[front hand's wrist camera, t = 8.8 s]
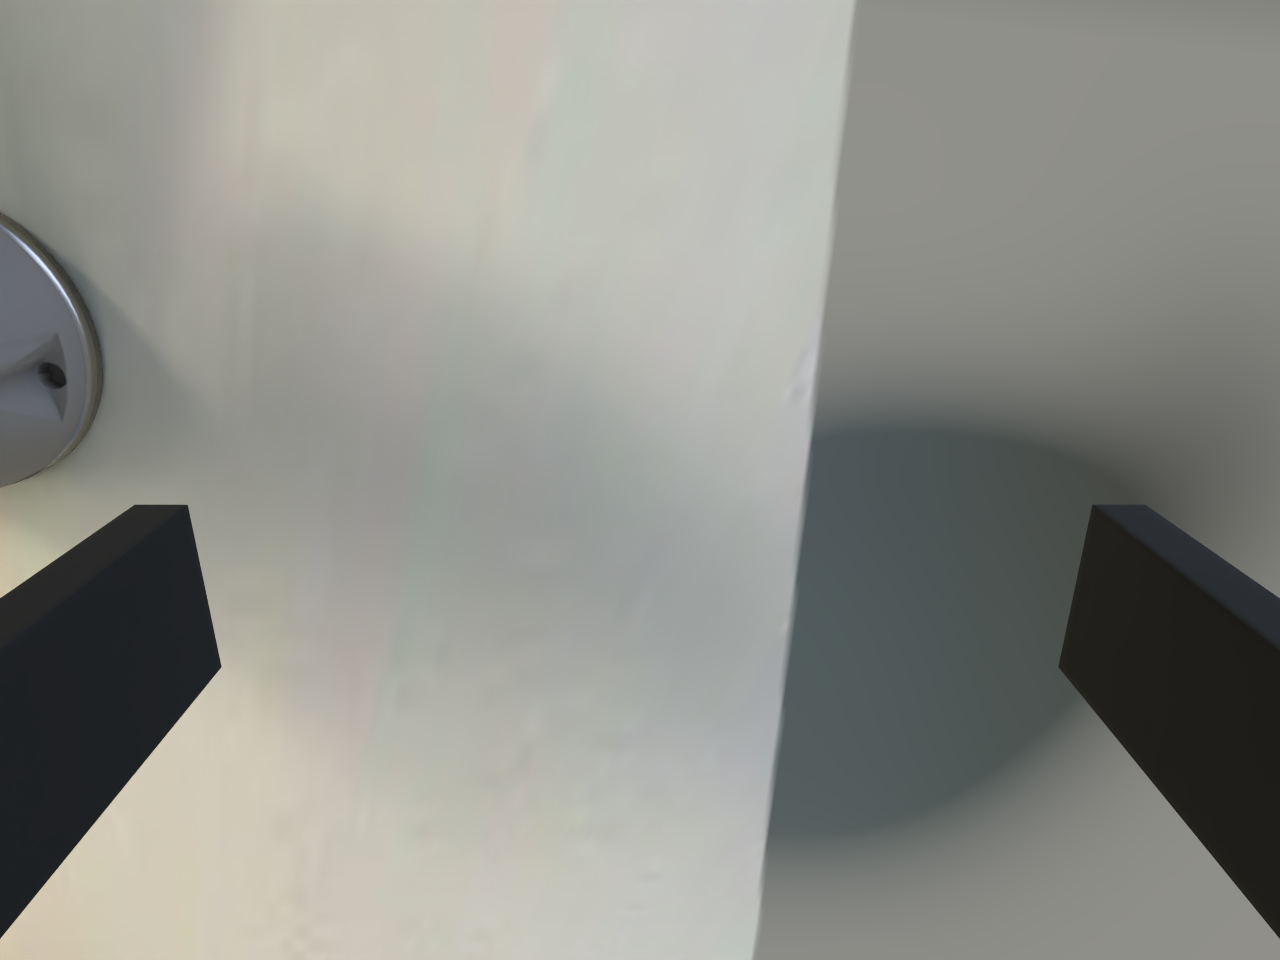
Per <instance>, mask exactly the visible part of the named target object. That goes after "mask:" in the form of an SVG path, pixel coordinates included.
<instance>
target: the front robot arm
mask: <svg viewBox="0 0 1280 960" xmlns="http://www.w3.org/2000/svg"><path fill="white" fill-rule="evenodd" d="M101 389H102V358H101V351H100V346H99V341H98V337H97V334H96V330H95V327H94V324H93V321H92V319H91V316H90V314H89V311H88V309H87V307H86V305H85V303H84V301H83V299H82V297H81V295H80V294H79V292H78V290H77V289H76V287H75V285H74V284H73V282H72V281H71V279H70V278H69V276H68V275H67V274H66V272H65V271H64V269H63V268H62V267H61V266H60V265H59V263H58V262H57V261H56V260H55V259H54V257H53V256H52V255H51V254H50V253H49V252H48V251H47V250H46V249H45V248H44V247H43V246H42V245H41V244H40V243H39V242H38V241H37V240H36V239H35V238H33V237H32V236H31V235H30V234H29V233H28V232H26V231H25V230H24V229H23V228H21V227H20V226H19V225H17V224H16V223H14V222H13V221H12V220H10V219H9V218H7V217H5V216H4V215H2V214H1V213H0V487H3V486H6V485H9V484H13V483H16V482H19V481H22V480H24V479H27V478H29V477H31V476H33V475H35V474H37V473H39V472H40V471H42V470H44V469H46V468H48V467H50V466H52V465H54V464H55V463H57V462H58V461H60V460H61V459H63V458H64V457H65V456H66V455H67V454H69V453H70V452H71V451H72V450H73V449H74V448H75V447H76V446H77V445H78V443H79V442H80V441H81V440H82V439H83V437H84V436H85V434H86V433H87V431H88V429H89V427H90V426H91V424H92V422H93V420H94V417H95V414H96V411H97V409H98V405H99V401H100V397H101ZM220 668H221V662H220V658H219V653H218V648H217V643H216V639H215V634H214V629H213V624H212V619H211V615H210V610H209V605H208V600H207V595H206V591H205V586H204V581H203V576H202V572H201V567H200V562H199V557H198V552H197V548H196V543H195V538H194V533H193V528H192V524H191V519H190V514H189V509H188V505H134V506H132V507H131V508H129V509H128V510H127V511H125V512H124V513H122V514H121V515H119V516H118V517H117V518H115V519H114V520H112V521H111V522H109V523H108V524H107V525H105V526H104V527H102V528H101V529H99V530H98V531H96V532H95V533H94V534H92V535H91V536H89V537H88V538H86V539H85V540H84V541H82V542H81V543H79V544H78V545H76V546H75V547H73V548H72V549H71V550H69V551H68V552H66V553H65V554H63V555H62V556H61V557H59V558H58V559H56V560H55V561H53V562H52V563H50V564H49V565H48V566H46V567H45V568H43V569H42V570H40V571H39V572H38V573H36V574H35V575H33V576H32V577H30V578H29V579H27V580H26V581H25V582H23V583H22V584H20V585H19V586H17V587H16V588H15V589H13V590H12V591H10V592H9V593H7V594H6V595H5V596H3V597H2V598H0V938H1V937H2V936H3V935H4V933H5V932H6V931H7V930H8V928H9V927H10V926H11V925H12V924H13V922H14V921H15V920H16V919H17V917H18V916H19V915H20V914H21V912H22V911H23V910H24V909H25V908H26V906H27V905H28V904H29V903H30V901H31V900H32V899H33V898H34V897H35V895H36V894H37V893H38V892H39V890H40V889H41V888H42V887H43V885H44V884H45V883H46V882H47V881H48V879H49V878H50V877H51V876H52V874H53V873H54V872H55V871H56V869H57V868H58V867H59V866H60V865H61V863H62V862H63V861H64V860H65V858H66V857H67V856H68V855H69V854H70V852H71V851H72V850H73V849H74V847H75V846H76V845H77V844H78V842H79V841H80V840H81V839H82V838H83V836H84V835H85V834H86V833H87V831H88V830H89V829H90V828H91V827H92V825H93V824H94V823H95V822H96V820H97V819H98V818H99V817H100V815H101V814H102V813H103V812H104V811H105V809H106V808H107V807H108V806H109V804H110V803H111V802H112V801H113V800H114V798H115V797H116V796H117V795H118V793H119V792H120V791H121V790H122V788H123V787H124V786H125V785H126V784H127V782H128V781H129V780H130V779H131V777H132V776H133V775H134V774H135V773H136V771H137V770H138V769H139V768H140V766H141V765H142V764H143V763H144V761H145V760H146V759H147V758H148V757H149V755H150V754H151V753H152V752H153V750H154V749H155V748H156V747H157V745H158V744H159V743H160V742H161V741H162V739H163V738H164V737H165V736H166V734H167V733H168V732H169V731H170V730H171V728H172V727H173V726H174V725H175V723H176V722H177V721H178V720H179V718H180V717H181V716H182V715H183V714H184V712H185V711H186V710H187V709H188V707H189V706H190V705H191V704H192V703H193V701H194V700H195V699H196V698H197V696H198V695H199V694H200V693H201V691H202V690H203V689H204V688H205V687H206V685H207V684H208V683H209V682H210V680H211V679H212V678H213V677H214V676H215V674H216V673H217V672H218V671H219V669H220ZM1059 668H1060V669H1061V671H1062V672H1063V673H1064V674H1065V676H1066V677H1067V678H1068V679H1069V680H1070V682H1071V683H1072V684H1073V685H1074V687H1075V688H1076V689H1077V690H1078V691H1079V693H1080V694H1081V695H1082V696H1083V698H1084V699H1085V700H1086V701H1087V703H1088V704H1089V705H1090V706H1091V707H1092V709H1093V710H1094V711H1095V712H1096V714H1097V715H1098V716H1099V717H1100V718H1101V720H1102V721H1103V722H1104V723H1105V725H1106V726H1107V727H1108V728H1109V730H1110V731H1111V732H1112V733H1113V734H1114V736H1115V737H1116V738H1117V739H1118V741H1119V742H1120V743H1121V744H1122V745H1123V747H1124V748H1125V749H1126V750H1127V752H1128V753H1129V754H1130V755H1131V757H1132V758H1133V759H1134V760H1135V761H1136V763H1137V764H1138V765H1139V766H1140V768H1141V769H1142V770H1143V771H1144V772H1145V774H1146V775H1147V776H1148V777H1149V779H1150V780H1151V781H1152V782H1153V784H1154V785H1155V786H1156V787H1157V788H1158V790H1159V791H1160V792H1161V793H1162V795H1163V796H1164V797H1165V798H1166V800H1167V801H1168V802H1169V803H1170V804H1171V806H1172V807H1173V808H1174V809H1175V811H1176V812H1177V813H1178V814H1179V815H1180V817H1181V818H1182V819H1183V820H1184V822H1185V823H1186V824H1187V825H1188V827H1189V828H1190V829H1191V830H1192V831H1193V833H1194V834H1195V835H1196V836H1197V837H1198V839H1199V840H1200V841H1201V842H1202V844H1203V845H1204V846H1205V847H1206V849H1207V850H1208V851H1209V852H1210V853H1211V855H1212V856H1213V857H1214V858H1215V860H1216V861H1217V862H1218V863H1219V865H1220V866H1221V867H1222V868H1223V869H1224V871H1225V872H1226V873H1227V874H1228V876H1229V877H1230V878H1231V879H1232V881H1233V882H1234V883H1235V884H1236V885H1237V887H1238V888H1239V889H1240V890H1241V892H1242V893H1243V894H1244V895H1245V897H1246V898H1247V899H1248V900H1249V901H1250V903H1251V904H1252V905H1253V906H1254V908H1255V909H1256V910H1257V911H1258V912H1259V914H1260V915H1261V916H1262V917H1263V919H1264V920H1265V921H1266V922H1267V924H1268V925H1269V926H1270V927H1271V928H1272V930H1273V931H1274V932H1275V933H1276V935H1277V936H1278V937H1279V938H1280V598H1278V597H1277V596H1275V595H1274V594H1273V593H1271V592H1270V591H1268V590H1267V589H1265V588H1264V587H1263V586H1261V585H1260V584H1258V583H1257V582H1255V581H1254V580H1253V579H1251V578H1250V577H1248V576H1247V575H1245V574H1244V573H1242V572H1241V571H1240V570H1238V569H1237V568H1235V567H1234V566H1232V565H1231V564H1229V563H1228V562H1227V561H1225V560H1224V559H1222V558H1221V557H1219V556H1218V555H1217V554H1215V553H1214V552H1212V551H1211V550H1209V549H1208V548H1207V547H1205V546H1204V545H1202V544H1201V543H1199V542H1198V541H1196V540H1195V539H1194V538H1192V537H1191V536H1189V535H1188V534H1186V533H1185V532H1184V531H1182V530H1181V529H1179V528H1178V527H1176V526H1175V525H1173V524H1172V523H1171V522H1169V521H1168V520H1166V519H1165V518H1163V517H1162V516H1161V515H1159V514H1158V513H1156V512H1155V511H1153V510H1152V509H1151V508H1149V507H1148V506H1146V505H1092V509H1091V514H1090V519H1089V524H1088V529H1087V533H1086V538H1085V543H1084V548H1083V552H1082V557H1081V562H1080V567H1079V571H1078V576H1077V581H1076V586H1075V591H1074V596H1073V600H1072V605H1071V610H1070V615H1069V620H1068V624H1067V629H1066V634H1065V639H1064V643H1063V648H1062V653H1061V658H1060V662H1059Z"/></svg>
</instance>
